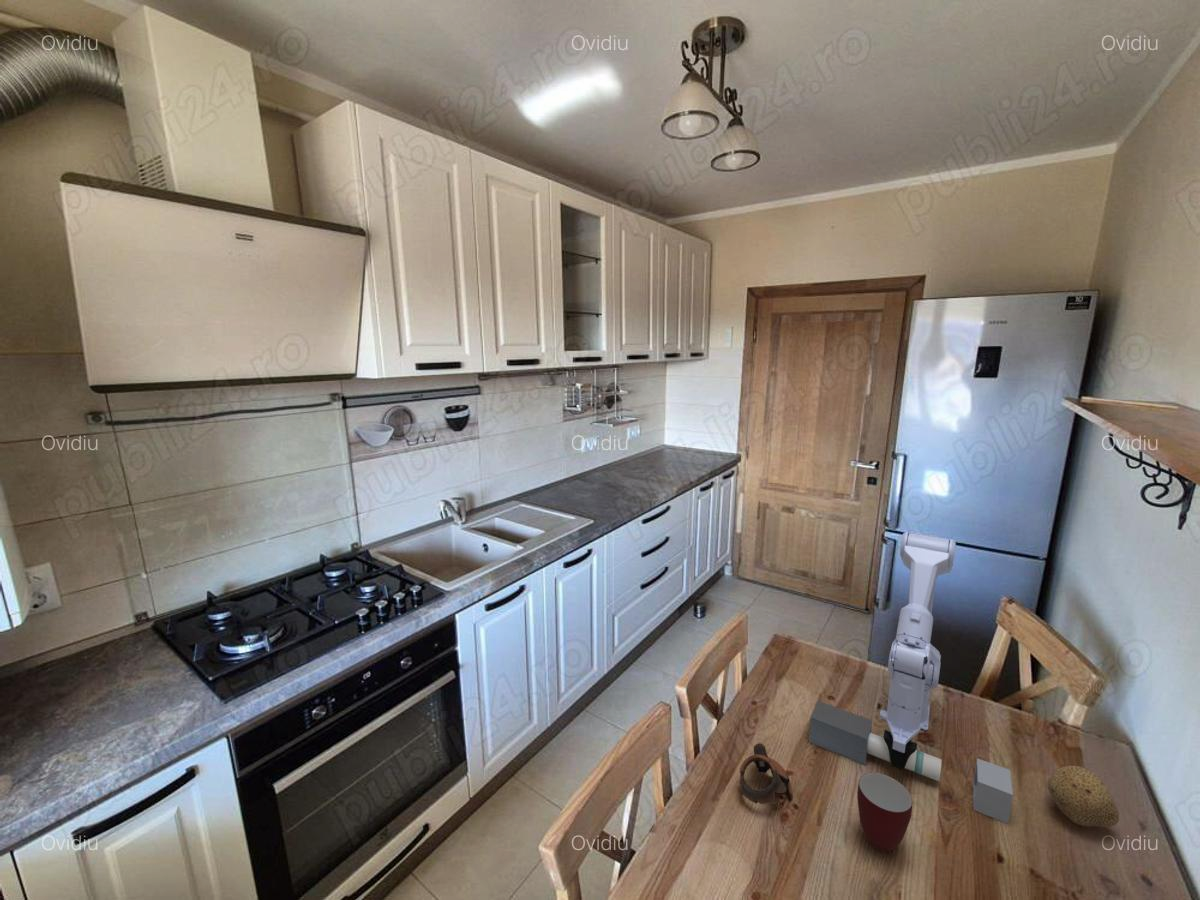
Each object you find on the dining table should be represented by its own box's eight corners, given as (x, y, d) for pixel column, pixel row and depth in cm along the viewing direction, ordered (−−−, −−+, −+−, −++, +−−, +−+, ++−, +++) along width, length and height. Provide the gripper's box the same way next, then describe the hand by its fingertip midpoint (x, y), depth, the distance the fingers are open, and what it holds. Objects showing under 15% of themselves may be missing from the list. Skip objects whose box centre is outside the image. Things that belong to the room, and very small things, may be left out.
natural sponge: (1032, 792, 96) (1039, 747, 94) (1088, 802, 94) (1097, 756, 92) (1061, 835, 87) (1070, 786, 85) (1124, 848, 85) (1135, 798, 83)
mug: (842, 805, 93) (846, 759, 92) (888, 810, 92) (893, 763, 91) (863, 860, 83) (869, 809, 81) (915, 867, 82) (922, 815, 80)
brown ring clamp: (803, 815, 92) (789, 790, 89) (755, 828, 94) (739, 805, 91) (783, 752, 103) (769, 728, 100) (740, 765, 105) (725, 742, 102)
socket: (973, 809, 92) (977, 781, 91) (973, 785, 98) (976, 758, 96) (1008, 824, 89) (1013, 795, 88) (1005, 798, 95) (1010, 770, 94)
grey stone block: (808, 742, 109) (810, 717, 108) (815, 724, 114) (817, 700, 113) (865, 765, 103) (867, 739, 102) (869, 745, 108) (872, 720, 107)
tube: (812, 736, 109) (814, 719, 109) (817, 724, 113) (818, 708, 112) (938, 786, 96) (941, 768, 96) (939, 772, 100) (941, 754, 99)
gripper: (886, 674, 107) (880, 730, 110) (877, 713, 96) (871, 774, 98) (925, 686, 103) (918, 744, 106) (920, 728, 92) (913, 791, 94)
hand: (898, 759), depth 102 cm, fingers closed on tube, 4 cm apart
